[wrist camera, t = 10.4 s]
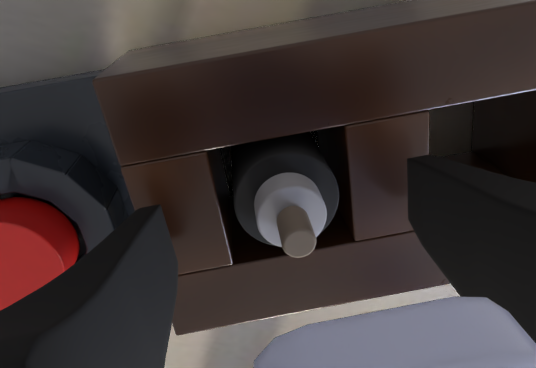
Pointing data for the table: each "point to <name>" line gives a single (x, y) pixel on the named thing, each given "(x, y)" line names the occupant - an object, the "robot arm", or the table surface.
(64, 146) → the control box
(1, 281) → the power button
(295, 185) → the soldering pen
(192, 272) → the stand
